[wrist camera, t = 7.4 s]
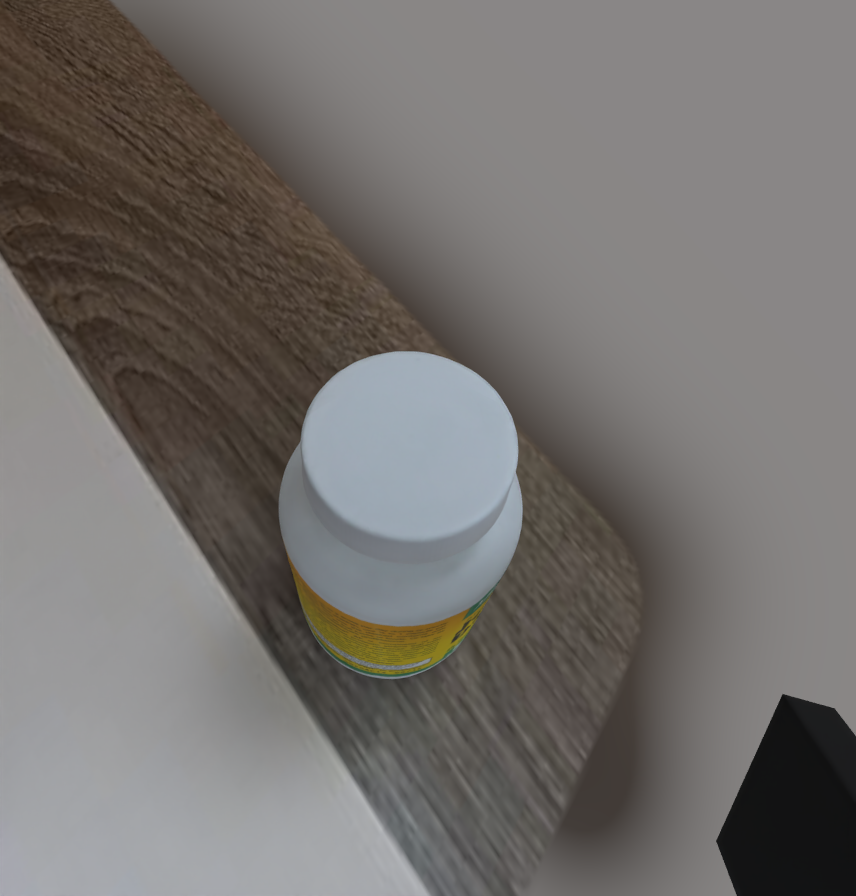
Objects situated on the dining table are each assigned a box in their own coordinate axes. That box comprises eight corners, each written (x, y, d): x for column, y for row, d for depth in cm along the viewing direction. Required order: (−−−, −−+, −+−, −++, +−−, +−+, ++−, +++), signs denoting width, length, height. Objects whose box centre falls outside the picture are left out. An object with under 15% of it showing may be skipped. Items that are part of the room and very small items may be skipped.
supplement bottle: (325, 496, 22) (305, 295, 14) (487, 528, 22) (566, 346, 14) (279, 663, 19) (219, 541, 11) (463, 700, 19) (544, 607, 11)
